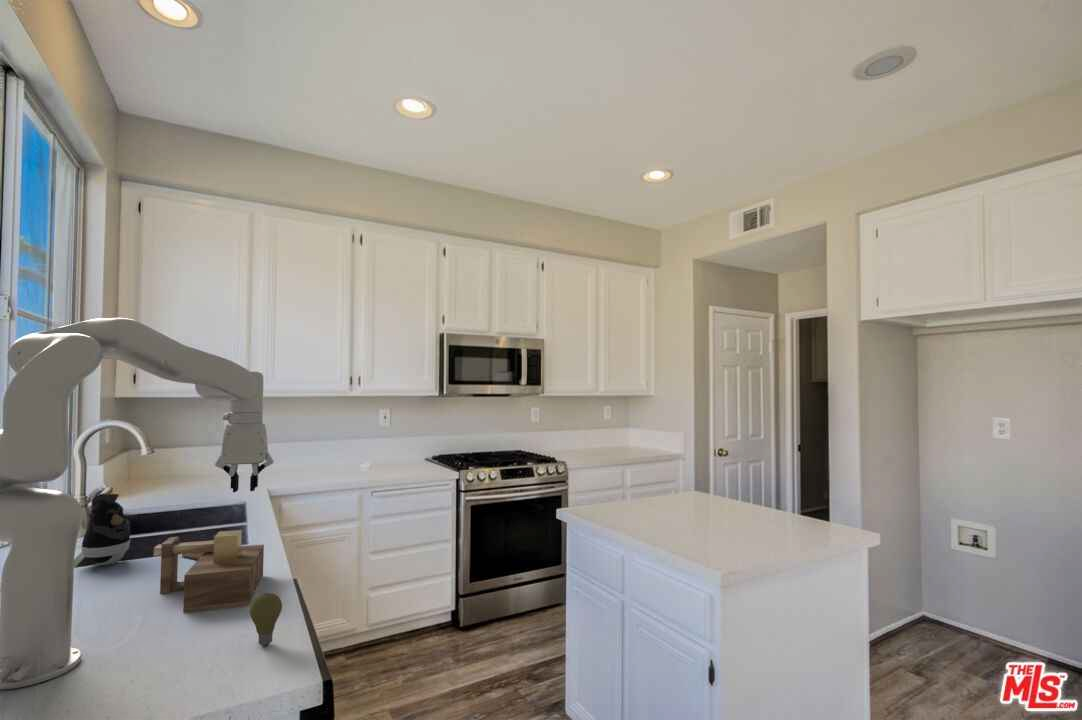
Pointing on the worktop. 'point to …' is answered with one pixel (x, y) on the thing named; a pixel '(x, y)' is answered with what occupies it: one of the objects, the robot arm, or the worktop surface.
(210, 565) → the lid
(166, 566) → the wooden box
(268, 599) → the light bulb
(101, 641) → the worktop surface
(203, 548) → the wooden key
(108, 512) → the black rounded piece
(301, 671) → the worktop surface
